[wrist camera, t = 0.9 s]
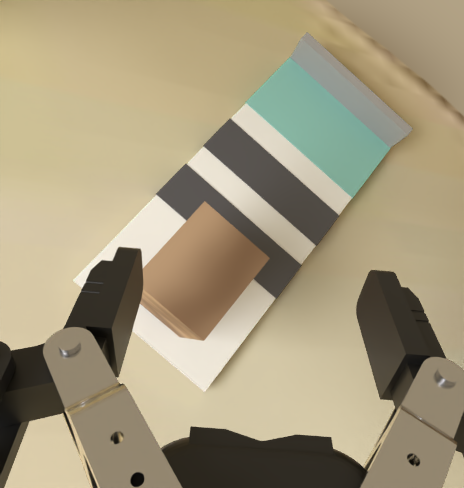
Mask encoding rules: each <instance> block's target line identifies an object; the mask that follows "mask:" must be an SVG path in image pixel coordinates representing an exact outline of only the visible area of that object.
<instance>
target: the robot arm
mask: <svg viewBox="0 0 464 488" xmlns="http://www.w3.org/2000/svg"><path fill="white" fill-rule="evenodd" d="M142 293H143V266H142V252H141V249H139V248H128V247H118V249H117V251H116V253H115V256H114V258H113V261H107V260H101V261H100V262H99V263H98V264H97V265H96V266H95V267H93V268H92V269H91V271H90V273H89V275H88V277H87V279H86V283H85V284H84V286H83V288H82V290H81V293H80V294H79V297H78V299H77V301H76V303H75V305H74V307H73V309H72V312H71V314H70V316H69V318H68V320H67V322H66V325H65V327H64V328H63V329H62V330H60V331H58V332H56V333H54V334H53V335H52V336H51V337H50V338H49V339H48V340H47V341H46V343H44V344H41V345H38V346H34V347H29V348H23V349H18V350H12V351H11V350H10V348H9V347H8V345H6V344H5V343H3V342H0V488H4V486H5V484H6V481H7V479H8V476H9V473H10V471H11V468H12V465H13V463H14V460H15V458H16V455H17V452H18V450H19V447H20V444H21V442H22V439H23V436H24V434H25V431H26V429H27V426H28V423H29V421H32V420H36V419H40V418H45V417H49V416H53V415H57V414H63V417H64V419H65V422H66V424H67V427H68V429H69V432H70V434H71V437H72V439H73V442H74V444H75V447H76V449H77V452H78V454H79V457H80V459H81V462H82V464H83V467H84V470H85V473H86V476H87V478H88V481H89V484H90V486H91V488H442V487H443V484H444V481H445V478H446V476H447V473H448V470H449V467H450V464H451V461H452V459H453V456H454V453H455V450H456V451H459V452H461V453H462V454H463V457H464V370H463V369H462V368H461V367H459V366H458V365H457V364H455V363H454V362H452V361H450V360H448V359H446V357H445V355H444V352H443V350H442V348H441V346H440V344H439V342H438V340H437V337H436V335H435V333H434V331H433V329H432V327H431V325H430V323H429V320H428V318H427V316H426V314H425V313H424V310H423V307H422V305H421V303H420V301H419V299H418V298H417V297H416V296H415V295H414V294H413V293H412V292H411V291H410V290H409V288H405V287H401V285H400V283H399V281H398V279H397V276H396V274H395V273H394V272H390V271H378V270H371V271H370V272H369V274H368V276H367V278H366V281H365V283H364V286H363V289H362V291H361V294H360V296H359V299H358V302H357V308H356V313H357V319H358V323H359V326H360V330H361V333H362V337H363V340H364V344H365V347H366V351H367V354H368V358H369V361H370V365H371V368H372V372H373V375H374V379H375V383H376V386H377V390H378V393H379V397H380V399H384V400H393V402H394V405H395V409H394V410H393V412H392V414H391V415H390V417H389V419H388V421H387V423H386V425H385V427H384V429H383V431H382V433H381V434H380V436H379V438H378V440H377V442H376V444H375V446H374V448H373V450H372V451H371V453H370V455H369V457H368V459H367V460H366V462H365V464H364V466H363V467H362V466H361V465H360V464H359V463H358V462H356V461H355V460H354V459H352V458H351V457H349V456H347V455H346V454H344V453H342V452H340V451H338V450H335V449H333V446H332V440H331V437H321V436H307V435H293V436H288V437H283V438H277V439H272V440H267V441H259V440H255V439H252V438H250V437H247V436H244V435H241V434H238V433H235V432H232V431H229V430H226V429H215V428H202V427H191V428H190V437H187V438H182V439H179V440H176V441H173V442H171V443H169V444H167V445H165V446H164V447H162V448H160V447H159V445H158V443H157V441H156V439H155V437H154V436H153V434H152V432H151V430H150V428H149V427H148V425H147V423H146V421H145V419H144V418H143V416H142V414H141V412H140V410H139V409H138V407H137V405H136V403H135V401H134V400H133V398H132V396H131V394H130V392H129V391H128V389H127V387H126V386H125V385H124V384H120V383H119V382H118V380H117V378H116V377H119V374H120V371H121V367H122V364H123V360H124V357H125V353H126V350H127V346H128V343H129V339H130V336H131V333H132V329H133V326H134V322H135V319H136V315H137V312H138V308H139V305H140V302H141V298H142Z"/></svg>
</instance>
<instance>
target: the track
mask: <svg viewBox="0 0 464 488" xmlns="http://www.w3.org/2000/svg"><path fill="white" fill-rule="evenodd" d="M412 129H413V128H412V127H411V126H409V125H408V124H407V123H406V122H405V121H404V120H403V119H402V118H401V117H400V116H399V115H397V114H396V113H395V112H394V111H393V110H392V109H391V108H390V107H389V106H388V105H386V104H385V103H384V102H383V101H382V100H381V99H380V98H379V97H378V96H377V95H375V94H374V93H373V92H372V91H371V90H370V89H369V88H368V87H367V86H366V85H365V84H363V83H362V82H361V81H360V80H359V79H358V78H357V77H356V76H355V75H354V74H352V73H351V72H350V71H349V70H348V69H347V68H346V67H345V66H344V65H343V64H342V63H340V62H339V61H338V60H337V59H336V58H335V57H334V56H333V55H332V54H331V53H329V52H328V51H327V50H326V49H325V48H324V47H323V46H322V45H321V44H320V43H319V42H317V41H316V40H315V39H314V38H313V37H312V36H311V35H310V34H309V33H308V32H307V33H306V34H305V35H304V36H303V37H302V38H301V40H300V41H299V43H298V45H297V47H296V48H295V50H294V52H293V53H292V55H291V57H289V58H288V60H287V61H286V62H285V63H284V64H283V65H282V66H281V67H280V68H279V69H278V70H277V71H276V72H275V73H274V74H273V75H272V76H271V77H270V78H269V79H268V80H267V81H266V82H265V83H264V84H263V85H262V86H261V87H260V88H259V89H258V90H257V91H256V92H255V93H254V94H253V95H252V96H251V97H250V98H249V99H248V100H247V101H246V103H245V105H244V106H243V107H242V108H241V109H240V110H239V111H238V112H237V113H236V114H235V115H234V116H233V117H232V118H231V119H229V120H228V121H227V122H226V123H225V124H224V125H223V126H222V127H221V128H220V129H219V130H218V131H217V132H216V133H215V134H214V135H213V136H212V137H211V138H210V139H209V140H208V141H207V142H206V143H205V144H204V145H203V148H202V149H201V150H200V151H199V152H198V153H197V154H196V155H195V156H194V157H193V158H192V159H191V160H190V161H189V162H188V163H187V164H185V165H184V166H183V167H182V168H181V169H180V170H179V171H178V172H177V173H176V174H175V175H174V176H173V177H172V178H171V179H170V180H169V181H168V182H167V183H166V184H165V185H164V186H163V187H162V188H161V189H160V191H159V192H158V193H157V194H156V196H155V197H154V198H153V199H152V200H151V201H150V202H149V203H148V204H147V205H146V206H145V207H144V208H143V209H142V210H141V211H140V212H139V213H138V214H137V215H136V216H135V217H134V218H133V219H132V220H131V221H130V222H129V223H128V224H127V225H126V226H125V227H124V229H123V230H122V231H121V232H120V233H119V234H118V235H117V236H116V237H115V238H114V239H113V240H112V241H111V242H110V243H109V244H108V245H107V246H106V247H105V248H104V249H103V250H102V251H101V252H100V253H99V254H98V255H97V256H96V257H95V258H94V259H93V260H92V261H91V262H90V263H89V264H88V265H87V266H86V267H85V268H84V269H83V271H82V272H81V273H80V274H79V275H78V276H77V277H76V278H75V279H74V280H73V281H74V282H75V283H76V284H77V285H79V286H80V287H81V288H83V286H84V284H85V283H86V279H87V277H88V275H89V273H90V271H91V269H92V268H93V267H95V266H96V265H97V264H98V263H99V262H100V261H101V260H107V261H113V258H114V256H115V253H116V251H117V249H118V247H128V248H139V249H141V252H142V266H143V268H144V267H145V266H146V265H147V264H148V262H149V261H150V260H151V259H152V258H153V257H154V256H155V255H156V254H157V253H158V252H159V250H160V249H161V248H162V247H163V246H164V245H165V244H166V243H167V242H168V241H169V240H170V238H171V237H172V236H173V235H174V234H175V233H176V232H177V231H178V230H179V229H180V228H181V226H182V225H183V224H184V223H185V222H186V221H187V220H188V219H189V218H190V217H191V216H192V214H193V213H194V212H195V211H196V210H197V209H198V208H199V207H200V206H201V205H202V204H203V202H204V201H205V202H206V203H207V204H209V205H210V206H211V207H212V208H213V209H214V210H215V211H217V212H218V213H219V214H220V215H221V216H222V217H223V218H225V219H226V220H227V221H228V222H229V223H230V224H231V225H233V226H234V227H235V228H236V229H237V230H238V231H239V232H241V233H242V234H243V235H244V236H245V237H246V238H247V239H249V240H250V241H251V242H252V243H253V244H254V245H255V246H257V247H258V248H259V249H260V250H261V251H262V252H263V253H265V254H266V255H267V256H268V257H269V258H270V259H269V260H268V261H267V262H266V264H265V265H264V266H263V267H262V269H261V270H260V271H259V272H258V274H257V275H256V276H255V278H254V279H253V280H252V281H251V283H250V284H249V285H248V286H247V288H246V289H245V290H244V291H243V293H242V294H241V295H240V296H239V298H238V299H237V300H236V301H235V303H234V304H233V305H232V306H231V308H230V309H229V310H228V311H227V313H226V314H225V315H224V316H223V318H222V319H221V320H220V321H219V323H218V324H217V325H216V327H215V328H214V329H213V330H212V332H211V333H210V334H209V335H208V337H207V338H206V339H205V340H204V341H201V340H195V339H188V338H181V337H179V336H177V335H176V334H175V333H174V332H173V331H172V330H170V329H169V328H168V327H167V326H166V325H165V324H163V323H162V322H161V321H160V320H159V319H157V318H156V317H155V316H154V315H153V314H152V313H150V312H149V311H148V310H147V309H146V308H145V307H143V306H142V305H141V304H140V305H139V308H138V312H137V315H136V319H135V322H134V326H133V329H132V331H133V332H134V333H135V334H136V335H138V336H139V337H140V338H141V339H142V340H144V341H145V342H146V343H147V344H148V345H149V346H151V347H152V348H153V349H154V350H155V351H157V352H158V353H159V354H160V355H161V356H162V357H164V358H165V359H166V360H167V361H168V362H169V363H171V364H172V365H173V366H174V367H175V368H177V369H178V370H179V371H180V372H181V373H182V374H184V375H185V376H186V377H187V378H188V379H190V380H191V381H192V382H193V383H194V384H195V385H197V386H198V387H199V388H200V389H201V390H203V391H204V392H205V391H206V390H207V388H208V387H209V386H210V384H211V383H212V382H213V380H214V379H215V378H216V376H217V375H218V374H219V372H220V371H221V370H222V369H223V367H224V366H225V365H226V363H227V362H228V361H229V359H230V358H231V357H232V355H233V354H234V353H235V351H236V350H237V349H238V347H239V346H240V345H241V344H242V342H243V341H244V340H245V338H246V337H247V336H248V334H249V333H250V332H251V330H252V329H253V328H254V326H255V325H256V324H257V322H258V321H259V320H260V318H261V317H262V316H263V315H264V313H265V312H266V311H267V309H268V308H269V307H270V305H271V304H272V303H273V301H274V300H275V299H277V297H278V296H279V295H280V293H281V292H282V291H283V289H284V288H285V287H286V286H287V284H288V283H289V282H290V280H291V279H292V278H293V276H294V275H295V274H296V272H297V271H298V270H299V268H300V267H301V266H302V265H301V264H302V263H303V262H304V260H305V259H306V258H307V257H308V255H309V254H310V253H311V251H312V250H313V249H314V247H315V246H317V245H318V243H319V242H320V241H321V239H322V238H323V237H324V235H325V234H326V233H327V231H328V230H329V229H330V227H331V226H332V225H333V223H334V222H335V221H336V220H337V218H338V217H339V214H340V213H341V212H342V210H343V209H344V208H345V206H346V205H347V204H348V202H349V201H350V200H351V199H352V198H353V197H354V196H355V194H356V193H357V192H358V190H359V189H360V188H361V187H362V185H363V184H364V183H365V181H366V180H367V179H368V177H369V176H370V175H371V173H372V172H373V171H374V169H375V168H376V167H377V165H378V164H379V163H380V161H381V160H382V159H383V157H384V156H385V155H386V154H387V152H388V151H389V150H390V148H391V147H392V146H394V145H395V144H396V143H398V142H399V141H401V140H402V139H403V138H405V137H406V136H408V135H409V133H410V132H411V131H412Z"/></svg>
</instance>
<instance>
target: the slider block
mask: <svg viewBox="0 0 464 488" xmlns="http://www.w3.org/2000/svg"><path fill="white" fill-rule="evenodd" d="M269 259H270V258H269V257H268V256H267V255H266V254H265V253H263V252H262V251H261V250H260V249H259V248H258V247H257V246H255V245H254V244H253V243H252V242H251V241H250V240H249V239H247V238H246V237H245V236H244V235H243V234H242V233H241V232H239V231H238V230H237V229H236V228H235V227H234V226H233V225H231V224H230V223H229V222H228V221H227V220H226V219H225V218H223V217H222V216H221V215H220V214H219V213H218V212H217V211H215V210H214V209H213V208H212V207H211V206H210V205H209V204H207V203H206V202H205V201H204V202H203V204H202V205H201V206H200V207H199V208H198V209H197V210H196V211H195V212H194V213H193V214H192V216H191V217H190V218H189V219H188V220H187V221H186V222H185V223H184V224H183V225H182V226H181V228H180V229H179V230H178V231H177V232H176V233H175V234H174V235H173V236H172V237H171V238H170V240H169V241H168V242H167V243H166V244H165V245H164V246H163V247H162V248H161V249H160V250H159V252H158V253H157V254H156V255H155V256H154V257H153V258H152V259H151V260H150V261H149V262H148V264H147V265H146V266H145V267H144V268H143V293H142V298H141V302H140V304H141V305H142V306H143V307H145V308H146V309H147V310H148V311H149V312H150V313H152V314H153V315H154V316H155V317H156V318H157V319H159V320H160V321H161V322H162V323H163V324H165V325H166V326H167V327H168V328H169V329H170V330H172V331H173V332H174V333H175V334H176V335H177V336H179V337H181V338H188V339H195V340H201V341H204V340H205V339H206V338H207V337H208V335H209V334H210V333H211V332H212V330H213V329H214V328H215V327H216V325H217V324H218V323H219V321H220V320H221V319H222V318H223V316H224V315H225V314H226V313H227V311H228V310H229V309H230V308H231V306H232V305H233V304H234V303H235V301H236V300H237V299H238V298H239V296H240V295H241V294H242V293H243V291H244V290H245V289H246V288H247V286H248V285H249V284H250V283H251V281H252V280H253V279H254V278H255V276H256V275H257V274H258V272H259V271H260V270H261V269H262V267H263V266H264V265H265V264H266V262H267V261H268V260H269Z"/></svg>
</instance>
